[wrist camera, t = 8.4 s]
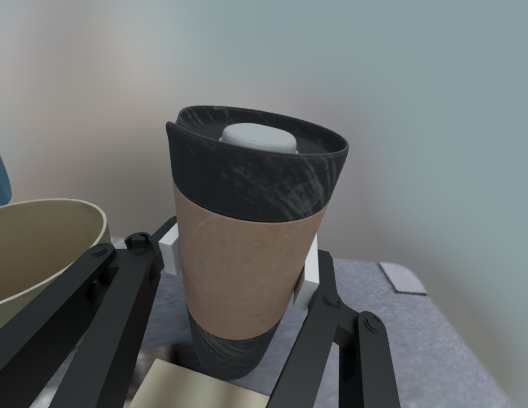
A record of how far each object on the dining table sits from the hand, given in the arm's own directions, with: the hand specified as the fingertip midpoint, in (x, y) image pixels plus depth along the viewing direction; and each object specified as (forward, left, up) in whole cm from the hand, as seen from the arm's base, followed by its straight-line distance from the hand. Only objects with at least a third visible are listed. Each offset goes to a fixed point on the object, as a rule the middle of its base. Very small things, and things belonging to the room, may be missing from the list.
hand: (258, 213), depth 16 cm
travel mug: (0, -5, -12) cm, 13 cm away
